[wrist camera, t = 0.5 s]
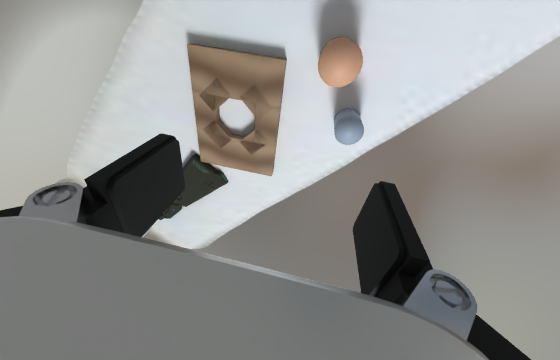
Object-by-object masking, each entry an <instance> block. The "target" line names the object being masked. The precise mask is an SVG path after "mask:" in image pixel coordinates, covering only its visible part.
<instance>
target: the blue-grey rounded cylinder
mask: <svg viewBox="0 0 560 360" xmlns="http://www.w3.org/2000/svg"><path fill="white" fill-rule="evenodd" d="M334 129H335V137H336V139H337V140H338V141H339V142H340V143H342V144H345V145H351V144H354V143H356V142H358V141H359V140H360V139H361V138H362V136H363V133H364V127H363V124H362V121H361V118H360V115H359V114H358V112H357V111H355V110H353V109H344V110H341V111H340V112H339V113H338V114H337V115H336V117H335V119H334Z"/></svg>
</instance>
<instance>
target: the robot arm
mask: <svg viewBox="0 0 560 360" xmlns="http://www.w3.org/2000/svg"><path fill="white" fill-rule="evenodd" d="M84 180H85V182H86V184H87V187H85V188H82V186H80V185H79V184H76V183H69V182H66V183H57V184H53V185H49V186H46V187H43V188H41V189H39V190H37V191H35V192H34V193H32V194H31V195H30V196H29V197H28V198H27V199H26V201H25V203H24V206H20V207H15V208H10V209H5V210H1V211H0V360H531V359H530V358H528V357H527V356H526V355H525V354H524V353H522V352H521V351H520V350H519V349H517V348H516V347H515V346H514V345H512V344H511V343H510V342H509V341H508V340H507V339H505V338H504V337H503V336H502V335H501V334H499V333H498V332H497V331H496V330H494V329H493V328H492V327H491V326H490V325H488V324H487V323H486V322H485V321H484V320H482V319H481V318H480V317H479V316H478V315H476V313H477V303H476V300H475V298H474V296H473V295H472V293H471V292H470V290H469V289H468V288H467V287H466V286H465V285H464V284H463V283H462V282H461V281H459V280H458V279H457V278H455V277H454V276H452V275H450V274H449V273H447V272H444V271H441V270H436V269H434V270H433V268H432V266H431V263H430V260H429V258H428V256H427V253H426V251H425V249H424V247H423V245H422V243H421V240H420V238H419V236H418V234H417V232H416V229H415V227H414V226H413V223H412V221H411V218H410V216H409V214H408V212H407V210H406V207H405V205H404V203H403V201H402V199H401V197H400V194H399V192H398V190H397V188H396V186H395V184H391V183H387V182H383V181H381V182H379V183H378V184H377V183H375V184H374V186H373V187H372V189H371V191H370V193H369V195H368V198H367V199H366V201H365V203H364V205H363V207H362V209H361V212H360V214H359V215H358V217H357V219H356V222H355V223H354V226H353V235H354V242H355V249H356V257H357V264H358V272H359V279H360V286H361V293H358V292H355V291H351V290H347V289H344V288H340V287H337V286H333V285H329V284H325V283H321V282H317V281H313V280H310V279H306V278H302V277H298V276H294V275H290V274H286V273H282V272H278V271H274V270H271V269H267V268H263V267H259V266H255V265H251V264H247V263H243V262H239V261H235V260H231V259H227V258H223V257H219V256H215V255H211V254H207V253H203V252H199V251H195V250H191V249H187V248H183V247H179V246H175V245H171V244H167V243H162V242H158V241H154V240H150V239H146V238H142V236H143V235H144V234H145V233H146V232H147V231H148V230H149V228H150V227H151V226H152V225H153V224H154V223H155V222H156V221H157V220H158V219H159V217H160V216H161V215H162V214H163V213H164V212H165V211H166V210H167V209H168V208H169V206H170V205H171V204H172V203H173V202H174V201H175V200H176V199H177V198H178V197H179V195H180V194H181V193H182V192H183V191H184V188H185V181H184V174H183V167H182V160H181V153H180V145H179V141H178V140H176V138H175V137H174V136H171V135H166V134H159V135H157V136H156V137H154V138H152V139H151V140H149V141H147V142H146V143H144V144H142V145H141V146H139V147H137V148H136V149H134V150H132V151H131V152H129V153H127V154H126V155H124V156H122V157H121V158H119V159H117V160H116V161H114V162H112V163H111V164H109V165H107V166H106V167H104V168H102V169H101V170H99V171H98V172H96V173H94V174H93V175H91V176H89V177H88V178H86V179H84Z"/></svg>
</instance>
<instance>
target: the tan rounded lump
mask: <svg viewBox="0 0 560 360" xmlns="http://www.w3.org/2000/svg"><path fill="white" fill-rule="evenodd" d="M362 63H363V56H362V52H361V49H360V48H359V46H358V45H357V44H356V43H355V42H354V41H352V40H350V39H348V38H344V37H340V38H335V39H333V40H331V41H330V42H328V43H327V44H326V46H325V47H324V48H323V50H322V52H321V55H320V57H319V61H318V71H319V74H320V77H321V79H322V80H323V81H324V82H325V83H326V84H328V85H329V86H332V87H343V86H346V85H348V84H350V83H351V82H352V81H353V80H355V78H356V77H357V76H358V74H359V73H360V70H361V68H362Z"/></svg>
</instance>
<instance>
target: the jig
mask: <svg viewBox="0 0 560 360" xmlns="http://www.w3.org/2000/svg"><path fill="white" fill-rule="evenodd" d="M187 47H188V56H189V64H190V73H191V81H192V90H193V99H194V107H195V116H196V124H197V133H198V141H199V150H200V159H201V162H206V163H210V164H215V165H220V166H225V167H229V168H234V169H239V170H244V171H248V172H253V173H258V174H263V175H268V176H272V174H273V169H274V160H275V152H276V144H277V135H278V127H279V119H280V111H281V102H282V94H283V86H284V78H285V69H286V61H287V59H283V58H276V57H270V56H264V55H258V54H252V53H246V52H239V51H233V50H227V49H221V48H215V47H209V46H202V45H196V44H187ZM228 98H232V99H237V100H243V102H244V103H245V104H246V106H247V107H248V108H249V109H250V111H251V112H252V113H253V114H254V116H255V129H254V130H253V131H251V132H250V133H249V134H247V135H246V136H245V137H243V136H238V135H233V134H231V132H230V131H229V130H228V129H227V128H226V127H225V126H224V124H223V123H222V122H221V121H220V115H219V107H220V106H221V105H222V104H223V103H224V102H225V101H226V100H227V99H228Z"/></svg>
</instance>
